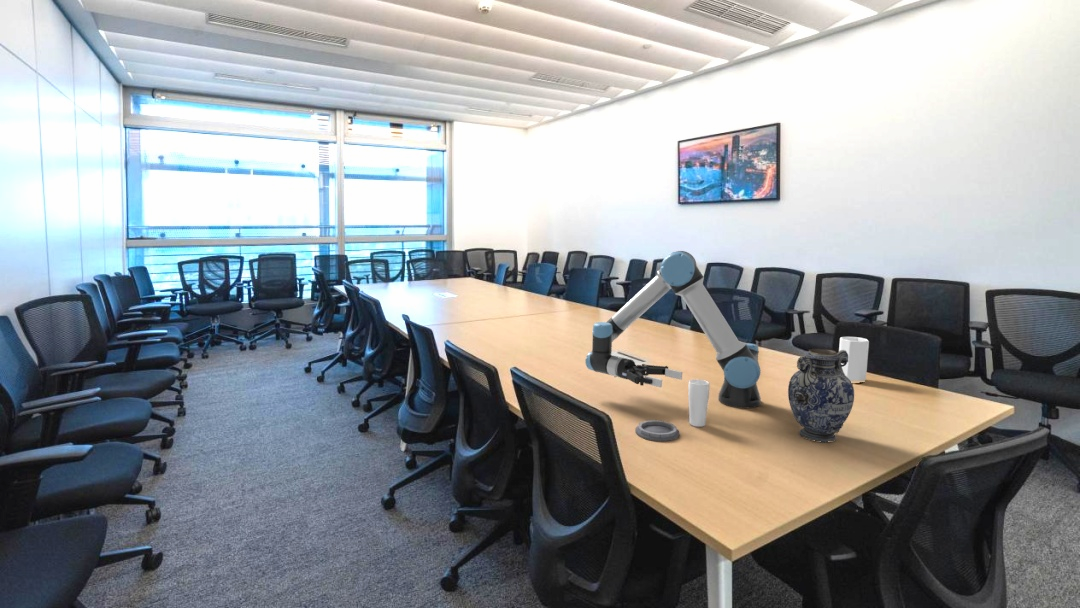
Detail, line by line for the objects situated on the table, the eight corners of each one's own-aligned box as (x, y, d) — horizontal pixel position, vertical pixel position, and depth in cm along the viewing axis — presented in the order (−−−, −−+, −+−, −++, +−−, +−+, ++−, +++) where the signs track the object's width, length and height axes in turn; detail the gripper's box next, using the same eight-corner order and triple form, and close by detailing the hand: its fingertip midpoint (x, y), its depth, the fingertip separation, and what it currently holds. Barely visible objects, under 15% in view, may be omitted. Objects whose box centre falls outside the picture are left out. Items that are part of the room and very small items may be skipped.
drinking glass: (697, 429, 176) (698, 385, 174) (682, 423, 182) (684, 380, 180) (712, 426, 179) (713, 383, 177) (697, 419, 185) (699, 378, 183)
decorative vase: (819, 452, 158) (825, 360, 154) (769, 431, 175) (774, 348, 171) (867, 441, 166) (874, 353, 163) (816, 422, 183) (821, 343, 180)
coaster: (680, 428, 178) (681, 422, 178) (677, 443, 165) (677, 437, 164) (638, 423, 182) (639, 417, 182) (632, 438, 169) (632, 432, 169)
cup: (871, 384, 227) (875, 341, 225) (845, 384, 228) (848, 341, 225) (856, 376, 238) (859, 336, 236) (831, 376, 239) (834, 336, 236)
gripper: (640, 371, 210) (688, 382, 195) (601, 384, 192) (651, 397, 177) (640, 352, 209) (690, 362, 194) (601, 363, 191) (652, 376, 176)
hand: (671, 379), depth 186 cm, fingers open, 13 cm apart
